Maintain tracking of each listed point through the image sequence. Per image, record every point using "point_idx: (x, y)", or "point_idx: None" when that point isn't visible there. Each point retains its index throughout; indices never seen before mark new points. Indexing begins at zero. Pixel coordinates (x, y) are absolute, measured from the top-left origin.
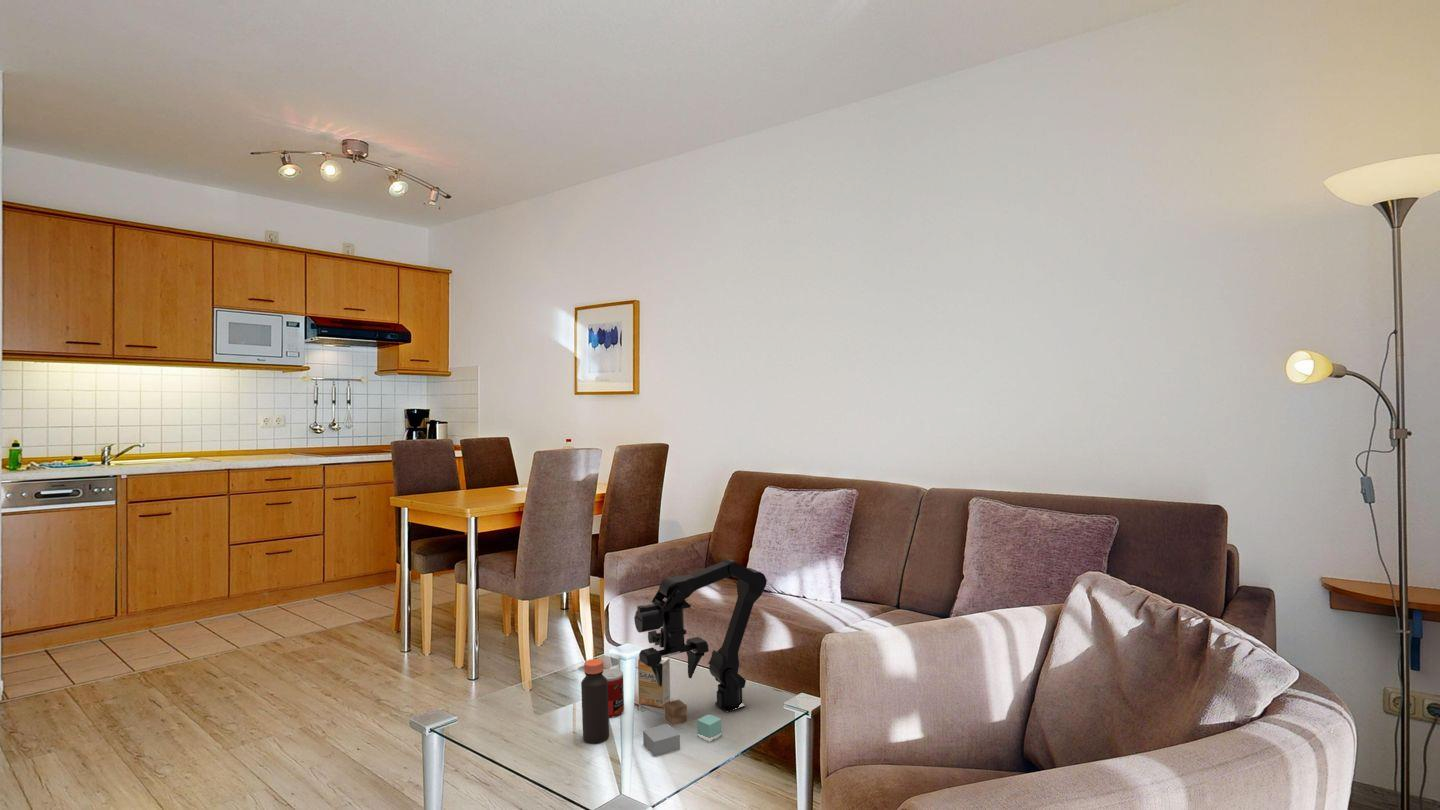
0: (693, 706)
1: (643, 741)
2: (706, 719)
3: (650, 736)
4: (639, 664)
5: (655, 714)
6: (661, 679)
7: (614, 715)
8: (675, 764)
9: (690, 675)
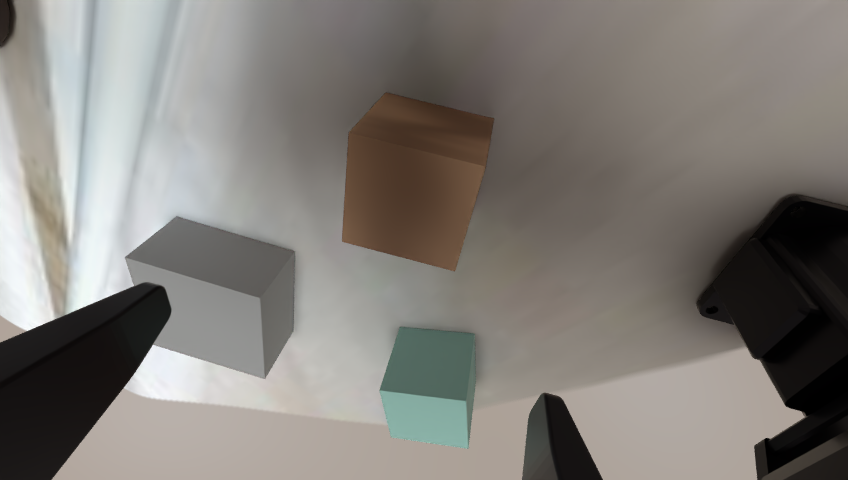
0: (674, 92)
1: (165, 228)
2: (416, 413)
3: None
4: None
5: None
6: (91, 412)
7: None
8: None
9: (524, 460)
